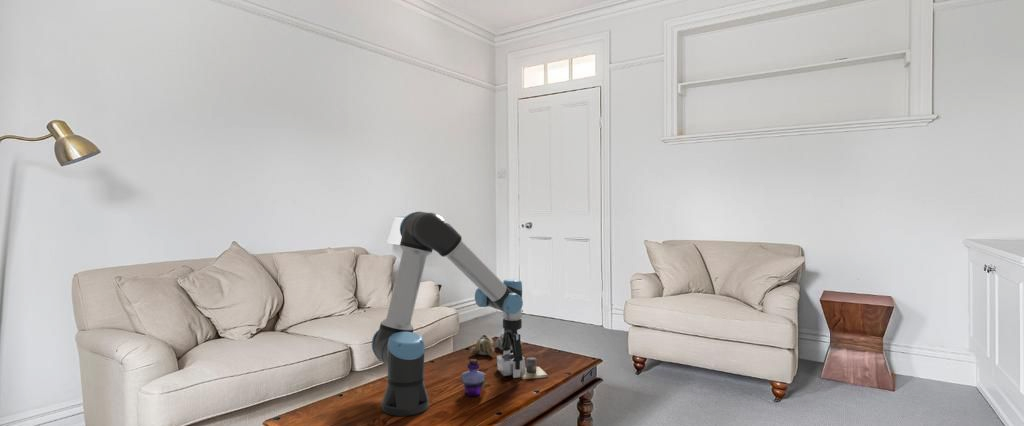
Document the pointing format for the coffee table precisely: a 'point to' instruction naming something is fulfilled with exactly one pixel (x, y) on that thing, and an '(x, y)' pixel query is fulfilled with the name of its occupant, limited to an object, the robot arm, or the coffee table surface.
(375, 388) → the coffee table surface
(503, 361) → the grey hollow square block
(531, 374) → the cream square tile
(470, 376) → the potion bottle
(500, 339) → the rock
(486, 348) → the ceramic sculpture
